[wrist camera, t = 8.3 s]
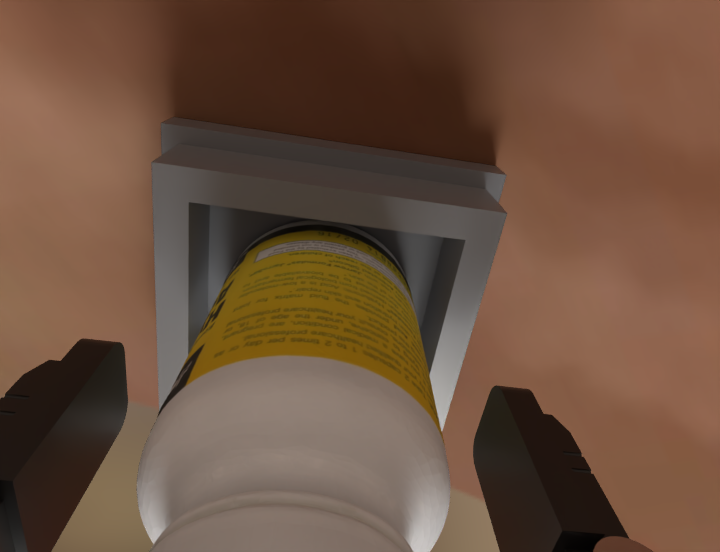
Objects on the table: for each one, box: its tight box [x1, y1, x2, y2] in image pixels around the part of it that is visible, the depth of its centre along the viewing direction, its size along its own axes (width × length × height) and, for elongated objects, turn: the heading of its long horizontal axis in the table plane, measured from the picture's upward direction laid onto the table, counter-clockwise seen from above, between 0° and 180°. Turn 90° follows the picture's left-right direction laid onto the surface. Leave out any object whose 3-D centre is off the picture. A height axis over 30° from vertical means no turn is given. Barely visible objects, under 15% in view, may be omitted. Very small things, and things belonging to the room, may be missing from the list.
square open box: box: [151, 117, 507, 431], centre depth 14 cm, size 9×9×3 cm
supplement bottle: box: [137, 220, 450, 552], centre depth 10 cm, size 5×5×10 cm
